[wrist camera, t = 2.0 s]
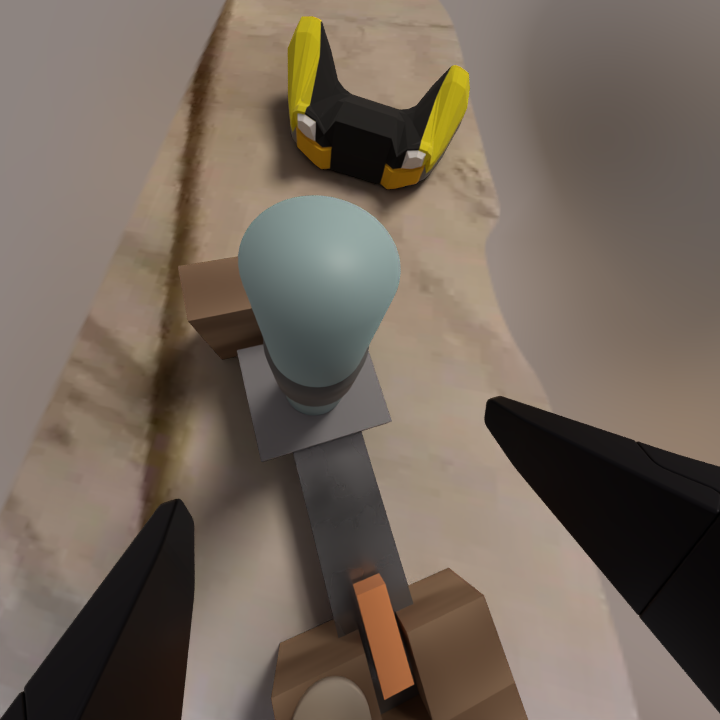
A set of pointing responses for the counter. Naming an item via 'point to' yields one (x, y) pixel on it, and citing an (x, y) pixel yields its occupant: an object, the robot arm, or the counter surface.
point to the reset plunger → (383, 636)
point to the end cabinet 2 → (427, 657)
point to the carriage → (315, 321)
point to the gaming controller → (367, 117)
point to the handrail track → (352, 538)
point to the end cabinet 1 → (219, 306)
